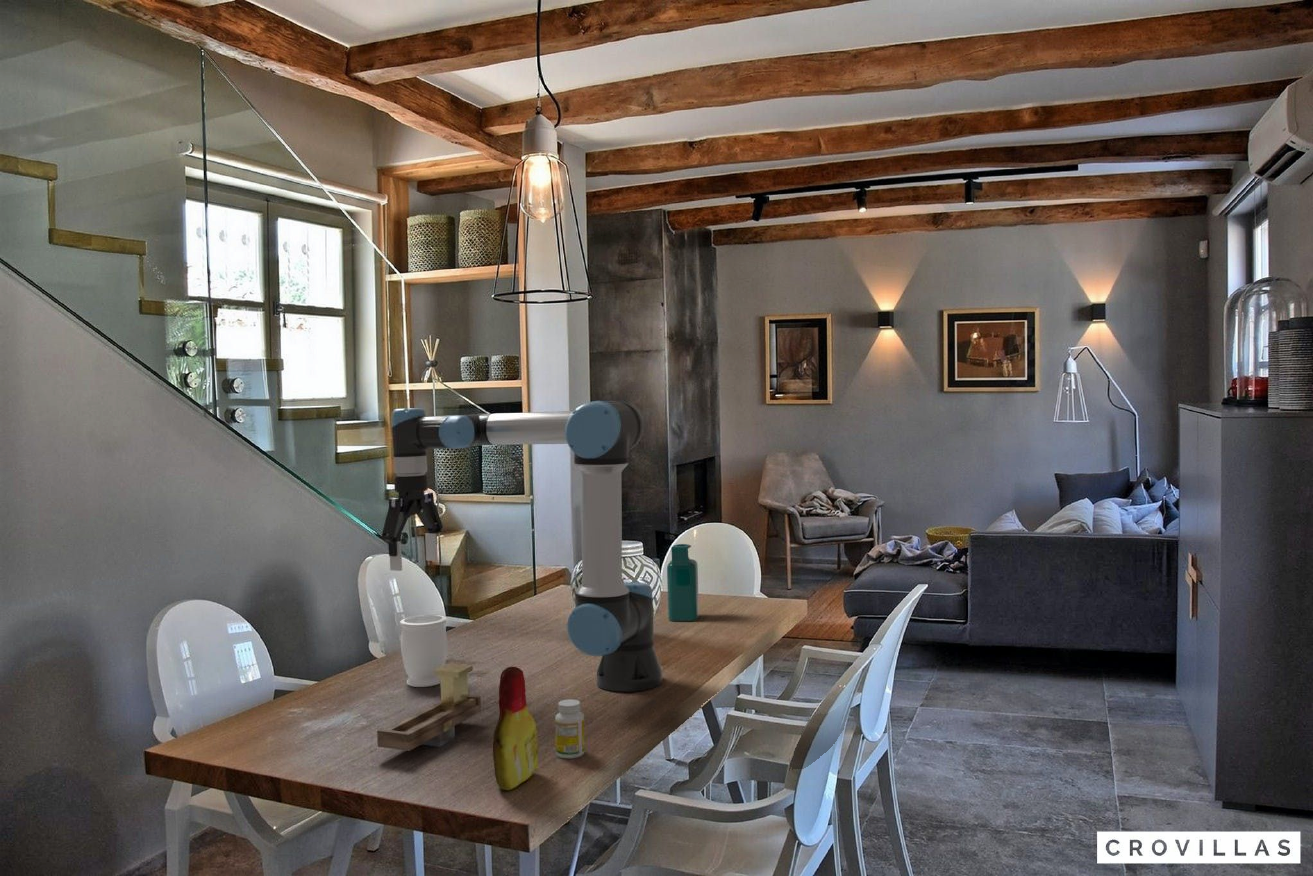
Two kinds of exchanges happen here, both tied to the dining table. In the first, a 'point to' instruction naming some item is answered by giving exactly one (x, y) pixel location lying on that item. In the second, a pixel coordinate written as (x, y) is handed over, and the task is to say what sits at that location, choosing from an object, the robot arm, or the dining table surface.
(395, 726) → the brown long rectangular frame
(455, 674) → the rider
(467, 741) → the dining table surface
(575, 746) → the supplement bottle
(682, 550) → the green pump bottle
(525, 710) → the bottle
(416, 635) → the jar
